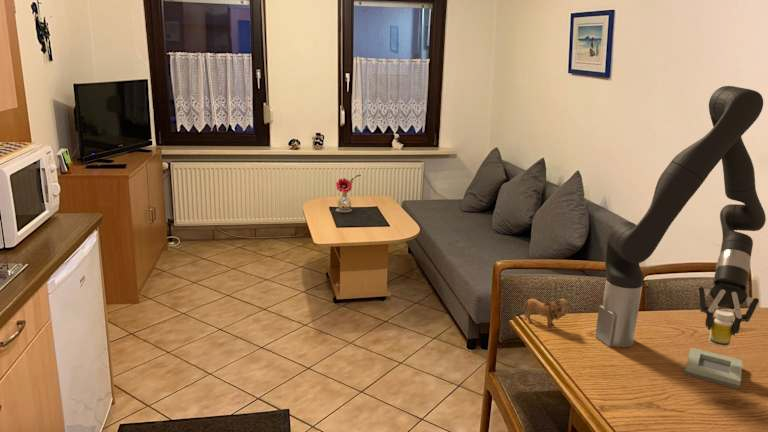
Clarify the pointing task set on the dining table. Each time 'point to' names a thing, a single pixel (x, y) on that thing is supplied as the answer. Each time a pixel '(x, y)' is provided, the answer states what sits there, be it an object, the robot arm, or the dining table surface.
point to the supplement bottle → (721, 328)
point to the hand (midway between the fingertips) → (721, 330)
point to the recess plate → (714, 368)
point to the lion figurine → (546, 310)
